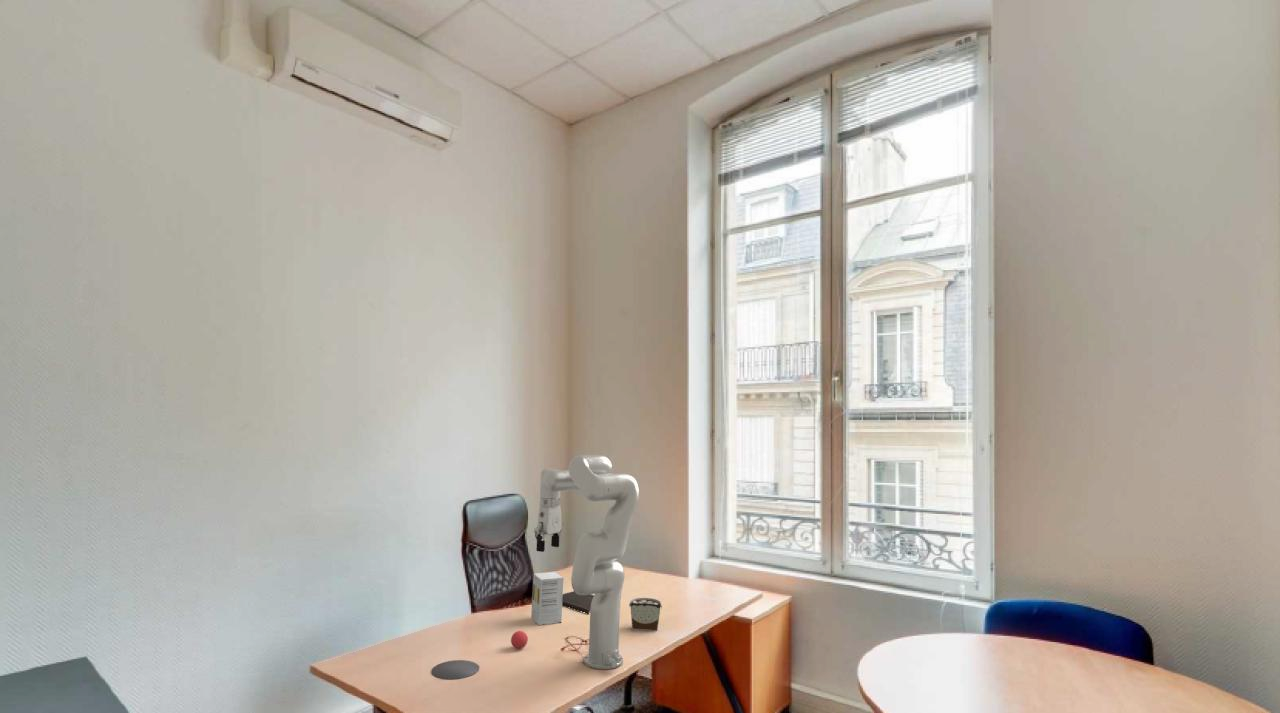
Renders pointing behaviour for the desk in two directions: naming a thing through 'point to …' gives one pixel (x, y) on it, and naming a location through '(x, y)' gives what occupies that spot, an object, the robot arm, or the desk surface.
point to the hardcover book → (577, 601)
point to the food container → (645, 613)
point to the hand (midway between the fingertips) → (547, 548)
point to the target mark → (455, 669)
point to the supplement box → (547, 598)
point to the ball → (519, 639)
